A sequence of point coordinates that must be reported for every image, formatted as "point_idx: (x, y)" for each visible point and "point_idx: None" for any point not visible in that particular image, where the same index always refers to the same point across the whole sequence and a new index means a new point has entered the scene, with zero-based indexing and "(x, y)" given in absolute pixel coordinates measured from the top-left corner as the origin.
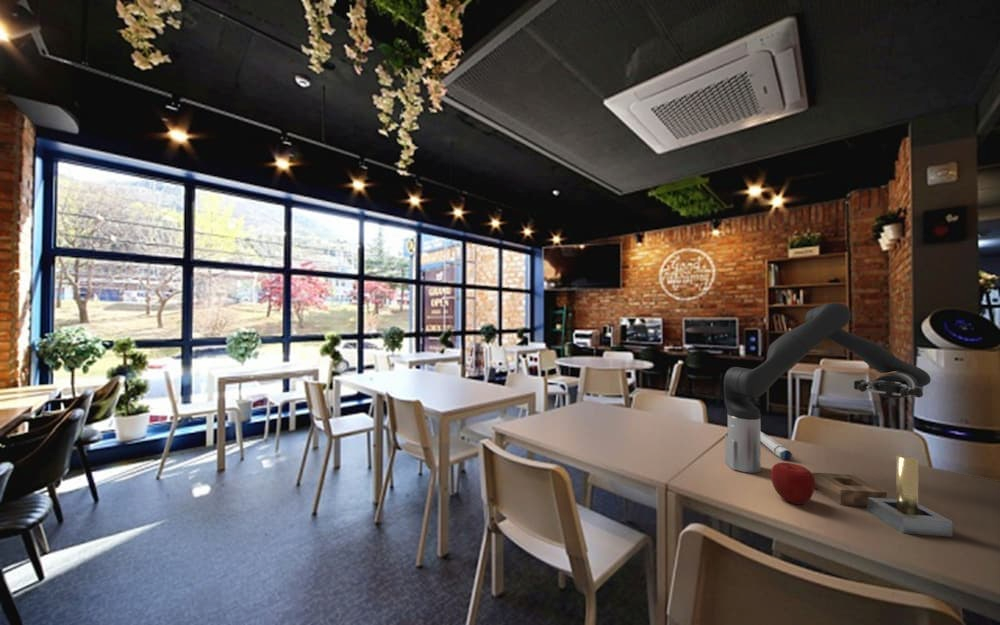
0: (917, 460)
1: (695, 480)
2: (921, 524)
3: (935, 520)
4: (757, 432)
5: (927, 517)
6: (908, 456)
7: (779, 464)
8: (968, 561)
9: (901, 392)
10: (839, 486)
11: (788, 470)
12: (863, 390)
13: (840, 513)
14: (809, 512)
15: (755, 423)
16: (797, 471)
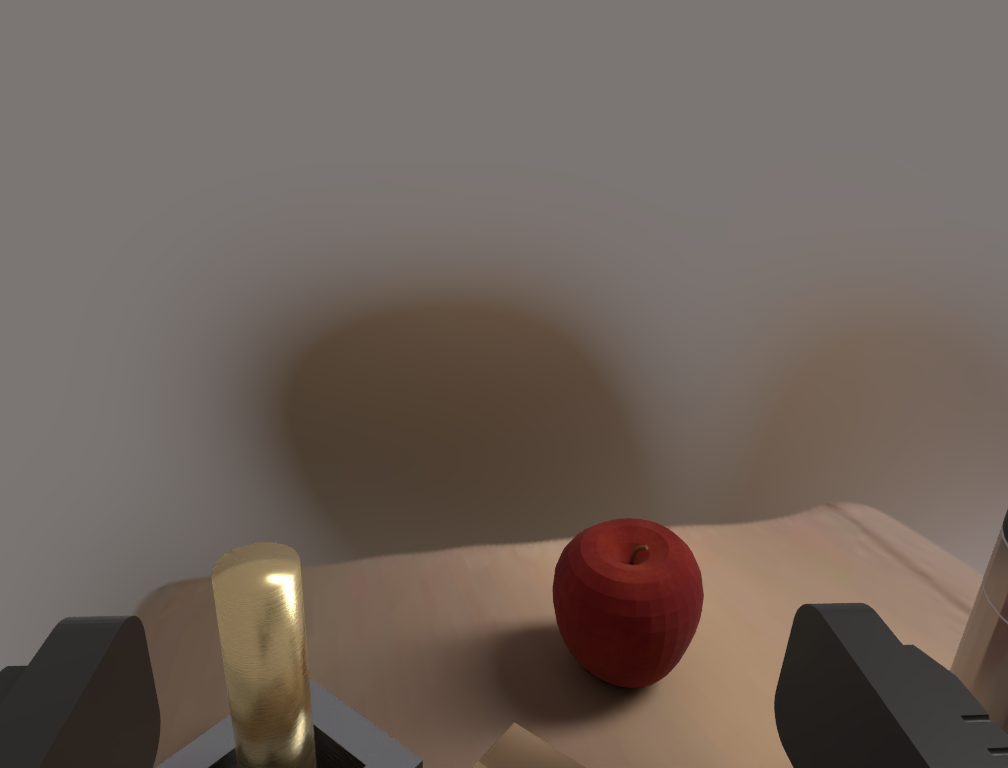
0: (216, 563)
1: (845, 567)
2: None
3: (192, 742)
4: (986, 628)
5: (216, 745)
6: (248, 590)
7: (667, 533)
8: None
9: (135, 660)
10: (533, 757)
11: (617, 519)
12: (791, 729)
13: (479, 696)
14: (539, 627)
15: (998, 565)
16: (596, 528)
